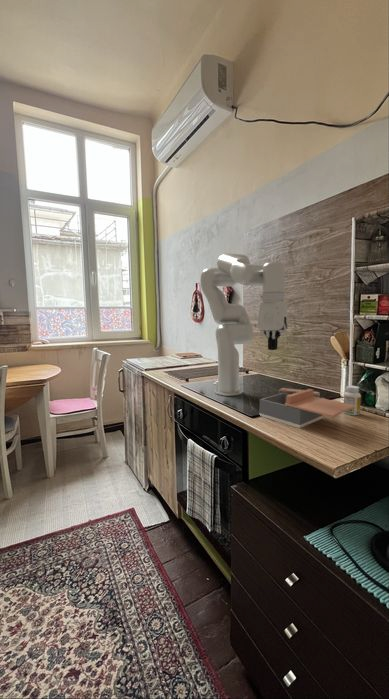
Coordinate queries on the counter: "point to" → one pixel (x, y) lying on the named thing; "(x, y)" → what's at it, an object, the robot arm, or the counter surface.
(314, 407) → the mailer lid
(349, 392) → the supplement bottle
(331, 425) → the counter surface
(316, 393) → the packaged product
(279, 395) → the tray
